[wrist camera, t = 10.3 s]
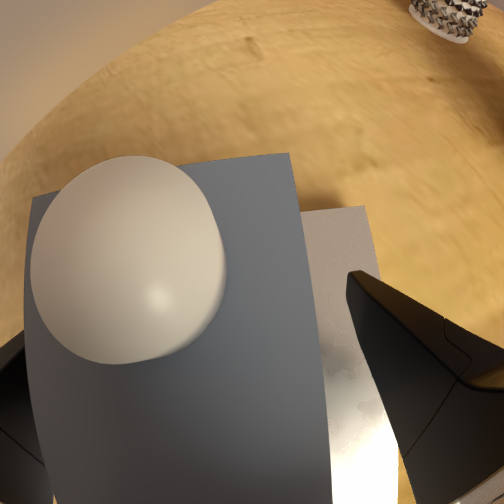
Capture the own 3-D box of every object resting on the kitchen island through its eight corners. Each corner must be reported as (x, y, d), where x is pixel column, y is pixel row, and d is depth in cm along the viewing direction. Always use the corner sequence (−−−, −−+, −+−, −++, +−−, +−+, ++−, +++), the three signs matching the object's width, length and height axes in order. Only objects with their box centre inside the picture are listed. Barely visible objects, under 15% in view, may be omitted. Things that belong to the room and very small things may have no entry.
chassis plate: (382, 538, 12) (392, 552, 10) (147, 557, 12) (139, 571, 10) (354, 218, 18) (364, 205, 16) (95, 251, 18) (79, 242, 16)
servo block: (283, 417, 15) (344, 616, 2) (201, 423, 15) (66, 593, 2) (264, 255, 18) (272, 32, 4) (185, 264, 18) (27, 91, 4)
